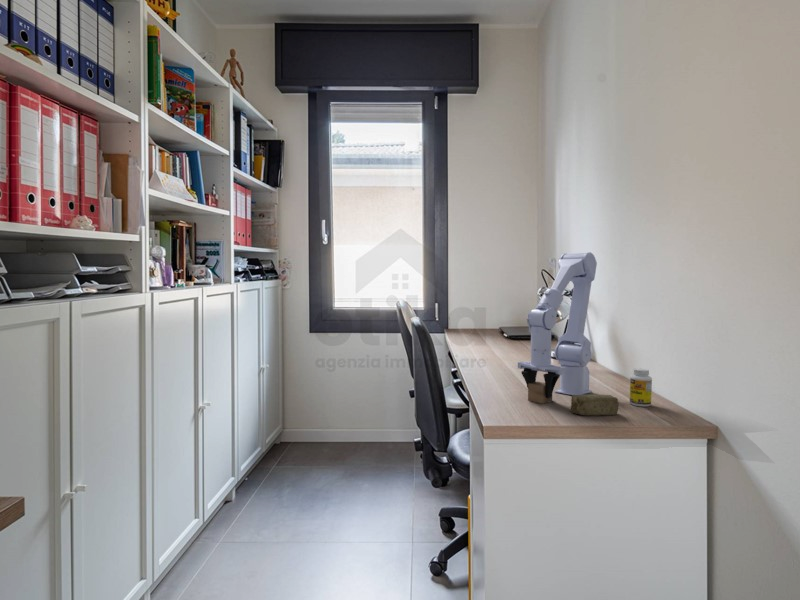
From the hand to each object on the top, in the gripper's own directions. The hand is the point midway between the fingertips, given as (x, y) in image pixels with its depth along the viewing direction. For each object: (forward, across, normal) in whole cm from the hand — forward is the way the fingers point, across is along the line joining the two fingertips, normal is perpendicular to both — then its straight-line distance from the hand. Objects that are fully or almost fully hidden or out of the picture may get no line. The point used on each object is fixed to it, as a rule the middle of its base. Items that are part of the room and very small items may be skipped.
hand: (540, 395), depth 150 cm
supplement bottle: (+2, +22, +17) cm, 28 cm away
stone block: (+2, +17, -2) cm, 18 cm away
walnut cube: (+1, 0, 0) cm, 1 cm away
